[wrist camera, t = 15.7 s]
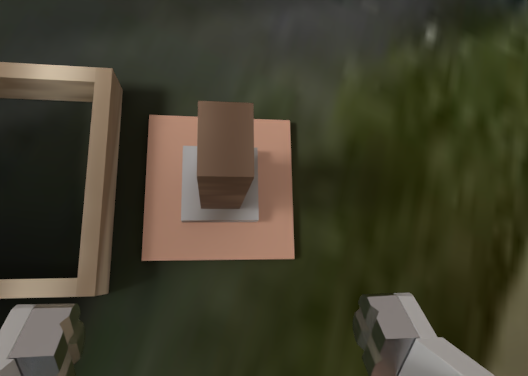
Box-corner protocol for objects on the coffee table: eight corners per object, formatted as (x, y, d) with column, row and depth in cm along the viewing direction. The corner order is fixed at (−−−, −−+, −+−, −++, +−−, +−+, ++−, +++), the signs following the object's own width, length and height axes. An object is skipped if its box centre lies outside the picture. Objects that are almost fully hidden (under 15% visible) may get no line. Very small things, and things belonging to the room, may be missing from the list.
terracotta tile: (142, 261, 25) (141, 260, 24) (150, 117, 27) (149, 114, 26) (293, 259, 26) (294, 258, 26) (288, 123, 28) (289, 120, 28)
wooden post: (181, 222, 25) (166, 192, 16) (183, 150, 26) (170, 84, 17) (256, 222, 26) (283, 193, 17) (255, 152, 27) (279, 89, 18)
